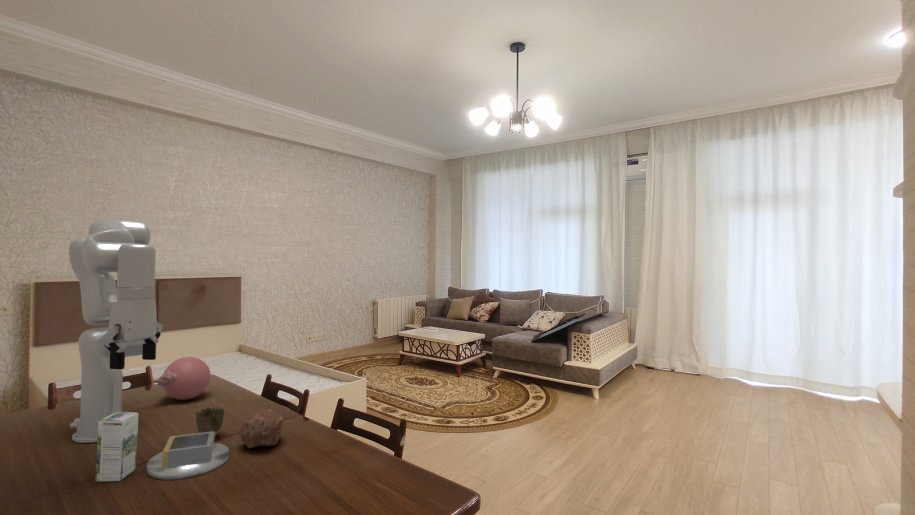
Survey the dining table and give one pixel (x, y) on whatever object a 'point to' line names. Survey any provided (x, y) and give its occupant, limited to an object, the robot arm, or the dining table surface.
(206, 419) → the dark green lumpy clump
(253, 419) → the decorative rock
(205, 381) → the inflated balloon
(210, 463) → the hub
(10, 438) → the dining table surface
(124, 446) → the syrup box
